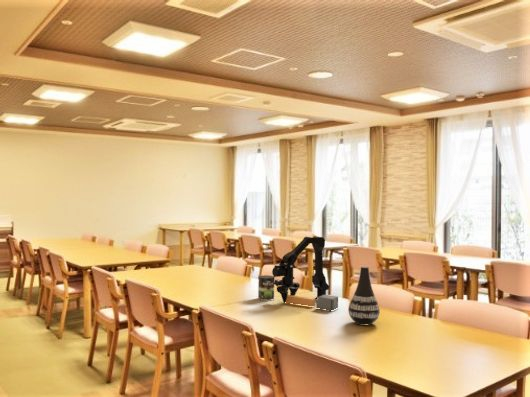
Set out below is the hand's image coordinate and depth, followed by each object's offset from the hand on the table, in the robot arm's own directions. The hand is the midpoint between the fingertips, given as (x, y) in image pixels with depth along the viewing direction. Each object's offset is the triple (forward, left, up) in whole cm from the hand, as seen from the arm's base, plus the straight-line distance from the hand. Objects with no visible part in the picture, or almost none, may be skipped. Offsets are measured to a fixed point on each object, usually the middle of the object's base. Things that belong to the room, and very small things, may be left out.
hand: (288, 301), depth 295 cm
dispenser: (0, +26, -1) cm, 26 cm away
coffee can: (-2, -17, -1) cm, 17 cm away
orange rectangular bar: (0, +8, -2) cm, 8 cm away
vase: (+18, +55, -1) cm, 58 cm away
